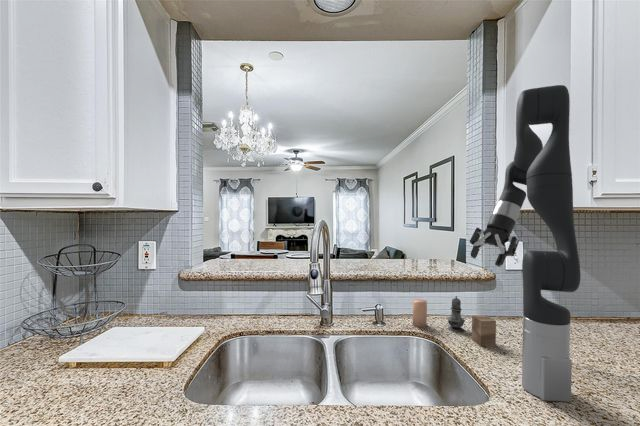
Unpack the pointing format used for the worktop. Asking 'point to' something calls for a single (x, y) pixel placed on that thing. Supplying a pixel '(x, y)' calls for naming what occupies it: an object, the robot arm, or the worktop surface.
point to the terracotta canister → (419, 313)
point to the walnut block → (484, 330)
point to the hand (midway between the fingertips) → (484, 261)
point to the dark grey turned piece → (456, 316)
